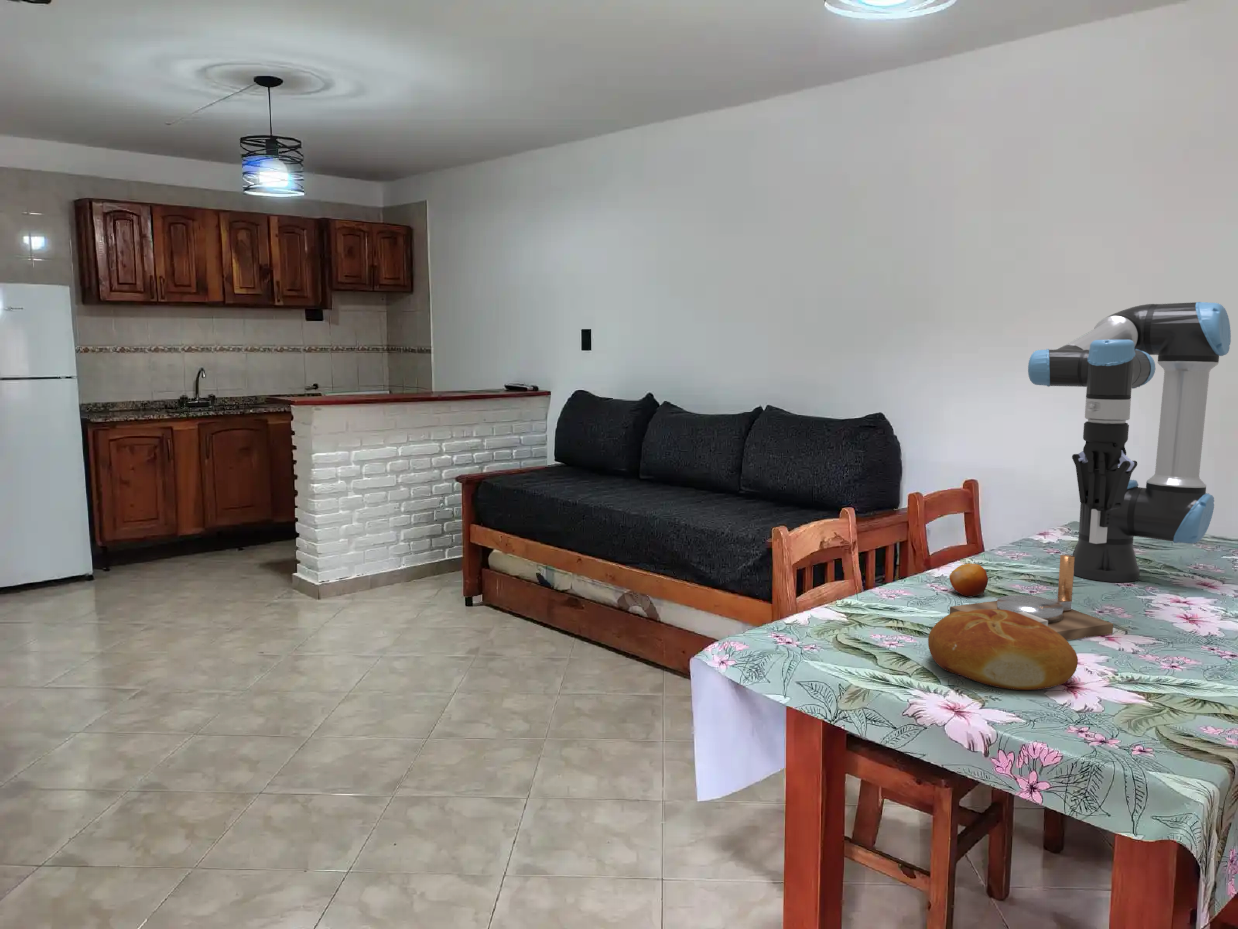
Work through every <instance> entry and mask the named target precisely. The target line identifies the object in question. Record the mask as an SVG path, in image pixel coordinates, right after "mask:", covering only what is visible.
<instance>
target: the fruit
mask: <svg viewBox="0 0 1238 929" xmlns="http://www.w3.org/2000/svg"><path fill="white" fill-rule="evenodd" d="M949 582H950V584H951V587H952V588H953V590H954V591H955V592H956V593H958V594H960V595H962V596H965V597H968V596H972V597H976V596H981V597H984V593H985V590H986V589H987V587H988V586H987V585H988V582H989V577H988V574H987V571H986V569H984V567H983V566H982V565H980V564H977V563H971V562H970V563H969V562H968V563H965V564H961V565H959V566H957V567H956V568H955V569H954V570H953V571H952V572H951V573H950V574H949Z"/></svg>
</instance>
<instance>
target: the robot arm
mask: <svg viewBox="0 0 1238 929" xmlns="http://www.w3.org/2000/svg"><path fill="white" fill-rule="evenodd" d="M1231 331H1232V330H1231V323H1230V319H1229V315H1228V313H1227V310H1226V308H1225V306H1224V305H1223V304H1221V303H1219V302H1202V301H1196V302H1195V301H1194V302H1178V303H1177V302H1176V303H1175V302H1174V303H1147V304H1142V305H1137V306H1132V307H1129V308H1126V309H1124V310H1120V311H1117V312H1115V313H1113V314H1110V315H1108V316H1106V317H1104V318H1102V319H1101V320H1099V321H1098V322H1097V323H1096V324H1095V326H1094V328H1093V329H1091V330H1090V331H1088V332H1086V333H1085V334H1083V335H1081V336H1079V337H1077V338H1075V339H1073V340H1072V341H1069V342H1068V343H1066V344H1065V345H1063V346H1060V347H1059V348H1057V349H1050V348H1046V349H1038V350H1035V351H1033V352H1032V354H1031V355H1030V358H1029V360H1028V366H1027V374H1028V377H1029V381H1030V382H1031V384H1033V385H1036V386H1044V387H1045V386H1046V387H1048V388H1049V387H1077V388H1079V387H1083V388H1085V387H1086V392H1085V393H1086V394H1085V407H1084V418H1085V419H1086V420H1087V421H1085V422H1084V423H1083V433H1082V439H1083V440H1084V441H1085V444H1084V446H1083V449H1082V451H1081V452H1079V453H1074V454H1072V456H1071V459H1072V462H1073V464H1074V465H1075V471H1076V479H1077V480H1076V481H1077V487H1078V495H1079V501H1080V502H1079V503H1080V510H1079V522H1078V523H1079V526H1078V538H1077V543H1076V545H1075V548H1074V550H1073V553H1072V554H1071V555H1072V556H1075V561H1074V576H1077V577H1080V578H1083V579H1087V580H1092V581H1101V582H1108V583H1110V582H1111V583H1129V582H1135V581H1138V580H1139V579H1140V570H1141V569H1140V566H1139V565H1138V561H1137V556H1136V552H1135V548H1134V537H1138V538H1145V539H1151V540H1153V539H1154V540H1160V541H1168V542H1173V543H1174V544H1177V543H1180V544H1181V543H1183V544H1196V543H1199V542H1200V541H1201V540H1202V539H1203V538H1204V536H1205V535H1206V533H1207V531H1208V529H1209V527H1210V524H1211V521H1212V519H1213V514H1214V508H1215V497H1214V496H1213V495H1212V494H1210V493H1208V492H1207V484H1206V483H1205V482H1204V481H1203V480H1202V479H1201V478H1200V472H1201V471H1200V469H1201V462H1202V450H1203V442H1204V440H1203V439H1204V431H1205V422H1206V420H1205V419H1206V409H1207V400H1208V391H1209V390H1208V389H1209V379H1210V372H1211V370H1212V369H1214V368H1215V367H1216V366H1218V365H1219V362H1220V357H1223V356H1226V355H1228V353H1229V352H1230V346H1231V342H1232V339H1231V337H1232V335H1231ZM1155 355H1156V356H1157V364H1158V365H1159V366H1160V367H1161V368H1162V369H1163V371H1164V373H1163V383H1162V394H1161V395H1162V396H1161V404H1160V406H1161V407H1160V417H1159V424H1158V426H1159V428H1158V437H1157V446H1156V447H1157V449H1156V459H1155V460H1156V461H1155V468H1154V469H1155V471H1154V475H1152V476H1151V477H1149V479H1147V480H1146V484H1145V485H1146V486H1145V487H1139V483H1138V481H1137V480H1136V479H1131V476H1132V474H1133V472H1134V470H1135V469H1136V468H1137V466H1138V461H1136V460H1131V459H1130V458H1129V457H1128V455H1127V450H1126V447H1125V445H1126V443H1127V442H1129V441H1128V440H1129V428H1130V425H1129V424H1128V422H1127V421H1129V420H1130V418H1131V402H1132V401H1131V400H1132V390H1133V389H1137V388H1140V387H1142V386H1144V385H1147V383H1149V382H1150V381H1151V380H1152V378H1153V377H1154V375H1155V373H1156V363H1155V361H1154V358H1153V357H1152V356H1155Z"/></svg>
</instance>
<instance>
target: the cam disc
mask: <svg viewBox="0 0 1238 929" xmlns="http://www.w3.org/2000/svg"><path fill="white" fill-rule="evenodd" d="M1072 555H1073V554H1060V555H1059V556H1060V558H1059V570H1058V572H1059V573H1058V586H1057V587H1058V589H1057V598H1050V599H1049V598H1045V597H1041V596H1035V595H1034V596H1035V597H1034V596H1033V595H1025V594H1024V595H1022V594H1019V595H1018V594H1017V595H1015V594H1014V595H1013V594H1012V595H1004V596H1001V597H998V598H997V600H996V601H997V610H1009V611H1013V612H1016V613H1018V612H1026V613H1029V614H1031V615H1034V616H1037V617H1039V618H1042V619H1045V620H1047V621H1048V623H1050V622H1057V621H1060V620H1061V619H1062V618H1063V611H1070V610H1071V609H1072V603H1073V591H1074V587H1073V586H1074V576H1075V575H1074V561H1075V556H1072Z"/></svg>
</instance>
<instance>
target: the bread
mask: <svg viewBox="0 0 1238 929" xmlns="http://www.w3.org/2000/svg"><path fill="white" fill-rule="evenodd" d="M927 642H928V643H927V645H928V649H929V653H930V656H931V657H932V659H933V660H934V662H935V664H937V665H938V666H939V667H940V668H942V669H943V670H945V671H947V672H949V673H952V674H955V675H959V676H963V677H964V678H966V679H969V680H972V681H974V682H977V683H981V684H984V685H987V686H990V687H996V688H1001V689H1008V690H1015V691H1032V690H1033V691H1034V690H1035V691H1036V690H1043V689H1044V690H1045V689H1049V688H1053V687H1057V686H1060V685H1063V684H1065V683H1067V682H1068V681H1069V680H1070V679H1071V678H1072V677H1073V675H1074V674H1075V673H1076V671H1077V669H1078V668H1077V667H1078V664H1079V660H1078V654H1077V653H1076V650H1075V649H1074V647H1073V646H1072V645H1071V643H1069V641H1068V640H1066V639H1065V638H1064V637H1062V636H1061V635H1060V634H1059V633H1057V632H1056V631H1054V630H1053V629H1051V628H1049V627H1048V626H1046V625H1044V624H1042V623H1040V622H1038V621H1036V620H1034V619H1031V618H1029V617H1026V616H1024V615H1022V614H1019V613H1016V612H1013V611H1009V610H997V609H978V610H972V611H968V612H965V611H958V612H953V613H951V614H950V613H949V614H948V615H946V616H944V617H943V618H942V619H940V620H939V621H937V622H936V624H935V625H933V627H932V628H931V629H930V631H929V634H928V638H927Z"/></svg>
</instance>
